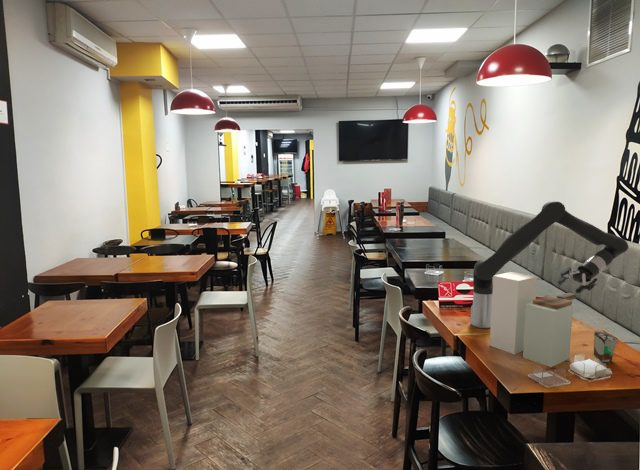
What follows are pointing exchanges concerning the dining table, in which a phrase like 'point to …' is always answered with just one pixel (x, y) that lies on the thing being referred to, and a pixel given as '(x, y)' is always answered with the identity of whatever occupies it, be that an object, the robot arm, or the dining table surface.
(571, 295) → the serving paddle
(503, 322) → the tall stand
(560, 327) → the low stand
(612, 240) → the robot arm
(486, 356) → the dining table surface
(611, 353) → the food container
